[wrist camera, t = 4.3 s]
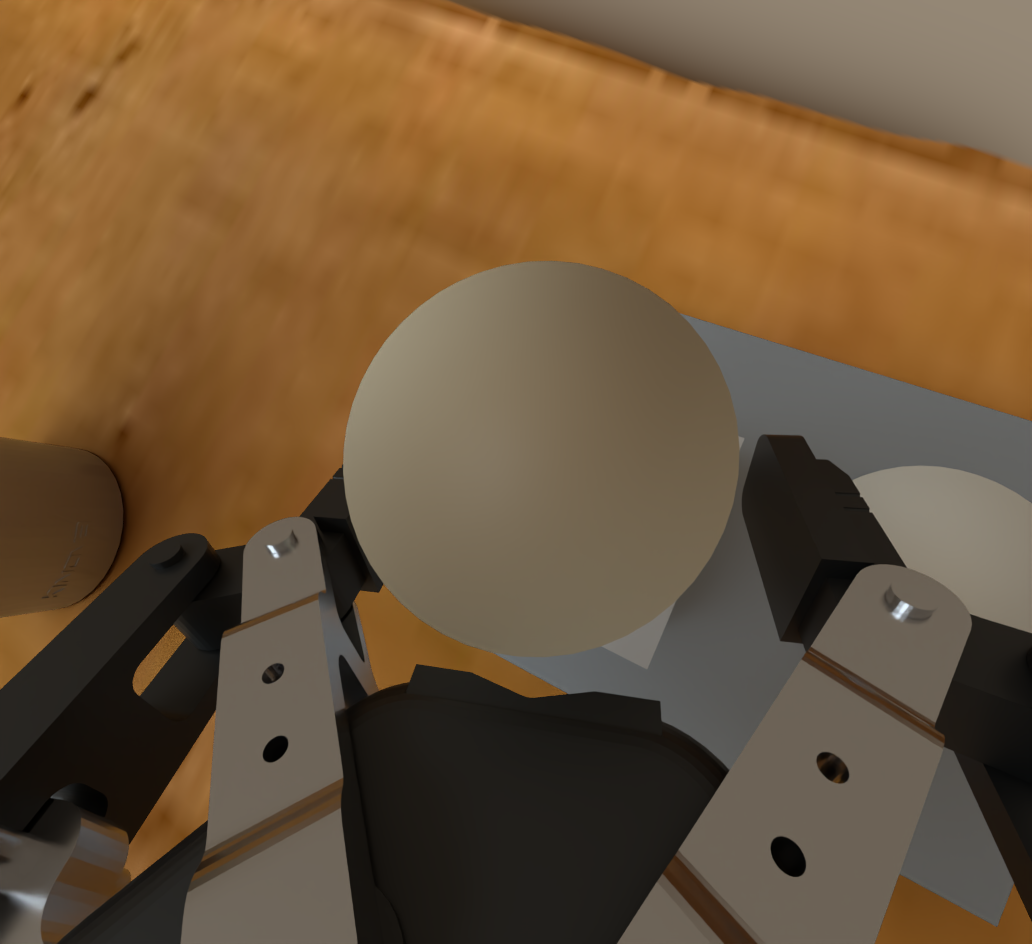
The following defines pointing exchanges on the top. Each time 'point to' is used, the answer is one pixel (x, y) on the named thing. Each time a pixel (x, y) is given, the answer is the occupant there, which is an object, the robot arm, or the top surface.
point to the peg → (541, 459)
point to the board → (912, 531)
